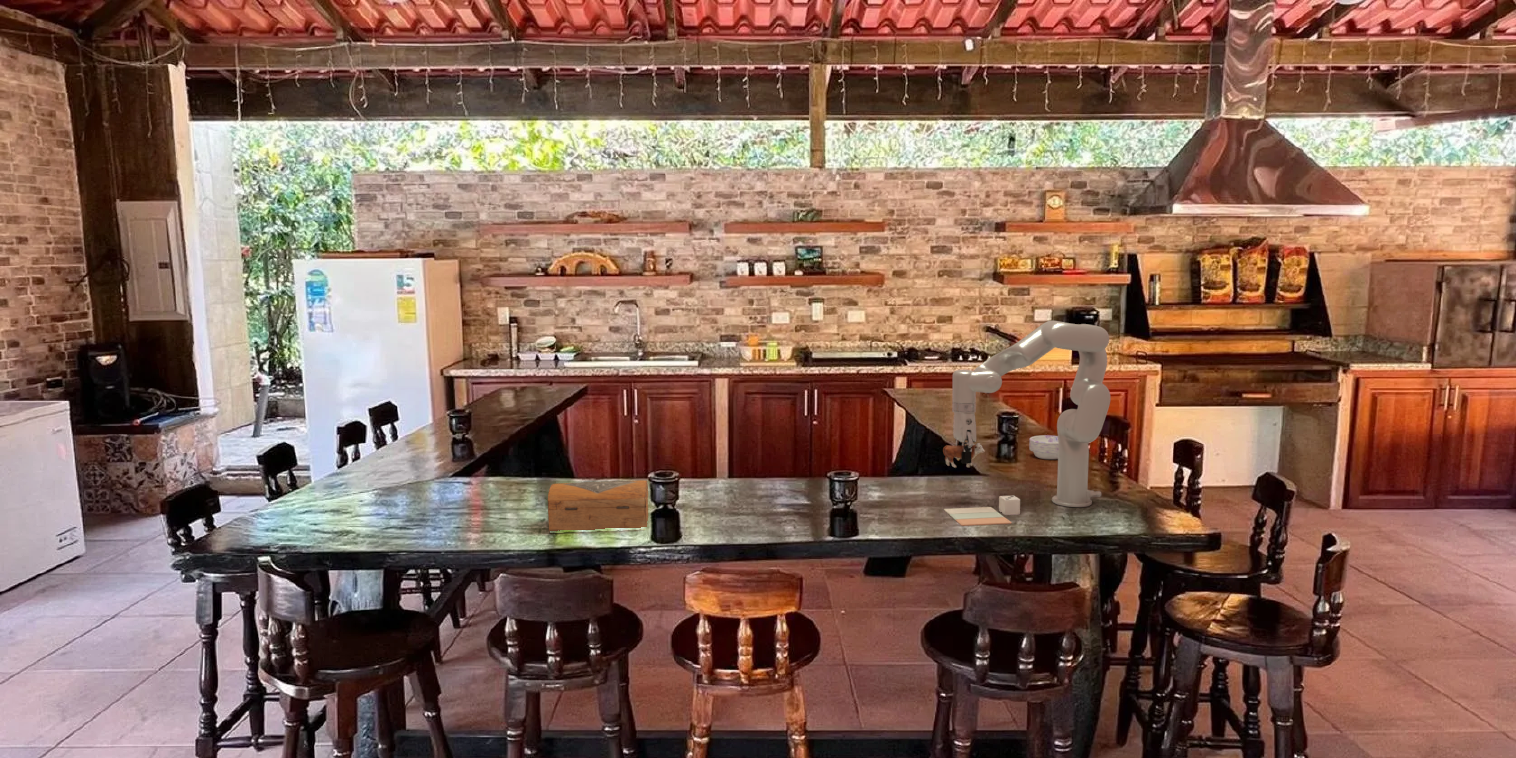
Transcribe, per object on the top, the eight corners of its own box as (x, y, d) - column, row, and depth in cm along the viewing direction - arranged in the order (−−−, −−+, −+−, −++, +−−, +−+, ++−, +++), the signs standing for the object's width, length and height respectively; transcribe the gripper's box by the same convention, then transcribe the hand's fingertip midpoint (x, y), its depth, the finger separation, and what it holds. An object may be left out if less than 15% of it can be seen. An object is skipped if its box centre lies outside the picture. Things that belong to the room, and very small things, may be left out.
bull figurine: (984, 468, 288) (985, 444, 287) (943, 467, 291) (943, 443, 290) (983, 465, 293) (984, 441, 291) (942, 464, 295) (942, 440, 294)
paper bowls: (1022, 458, 362) (1023, 439, 361) (1037, 451, 373) (1038, 433, 372) (1059, 463, 352) (1059, 443, 351) (1073, 456, 364) (1073, 437, 363)
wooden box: (649, 516, 286) (648, 474, 284) (647, 531, 270) (645, 487, 268) (556, 519, 284) (555, 477, 282) (548, 534, 268) (546, 490, 266)
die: (1013, 510, 287) (1014, 495, 286) (1019, 514, 282) (1020, 499, 281) (998, 511, 286) (999, 496, 285) (1004, 515, 281) (1005, 500, 281)
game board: (990, 508, 289) (990, 506, 289) (1011, 523, 272) (1011, 522, 272) (943, 510, 288) (943, 508, 288) (961, 525, 270) (961, 524, 270)
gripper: (984, 411, 281) (983, 466, 283) (966, 403, 298) (965, 455, 300) (961, 412, 280) (961, 467, 283) (944, 403, 297) (944, 456, 299)
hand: (963, 460), depth 291 cm, fingers closed on bull figurine, 5 cm apart
